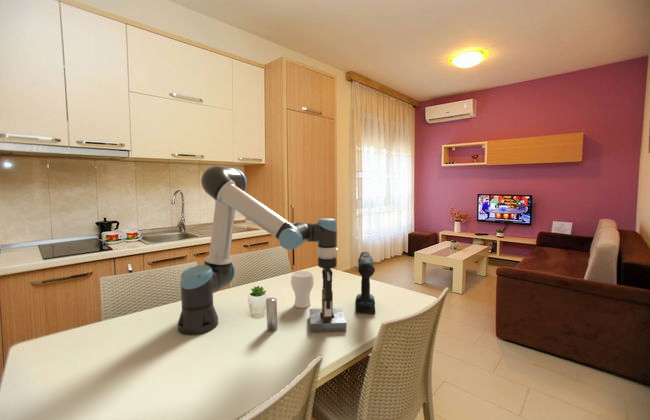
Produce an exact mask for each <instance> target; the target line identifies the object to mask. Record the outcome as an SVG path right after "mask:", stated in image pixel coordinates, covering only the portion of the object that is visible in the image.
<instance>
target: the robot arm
mask: <svg viewBox="0 0 650 420" xmlns="http://www.w3.org/2000/svg"><path fill="white" fill-rule="evenodd" d="M200 182H201V186H202V189H203V190H204V192H205V193H206V194H207V195H208V196H210V197H211V198H212V199H213V200H214V201H215V204H214V212H213V218H212V220H213V221H212V228H211V236H210V244H209V252H208V253H209V254H208V255H207V256H206V257H204V262H203V263H204V264H200V265H199V264H198V265H195V266H191V267H190V266H189V267H188V268H186V269H185V270H183V271H182V272H181V275H180V281H179V283H180V284H179V286H180V297H181V299H180V300H181V311H180V314H179V317H178V318H179V319H178V320H177V321H178V322H177V332H178V333H180V334H181V335H187V336H189V335H191V336H192V335H201V334H205V333H207V332H210V331H212V330H214V329H215V328H216V327H218V325H219V316H218V313H217V311H216V308H215V305H214V294H215V293H216V292H218V291H220V290H221V289H224V288H225V287H227V286H228V285H229V284H230V283H232V281H234V279H235V277H236V268H235V266H234V264H233V259H232V257H231V256H230V255H231V247H232V239H233V233H234V223H235V215H236V212H238V213H239V214H240V215H242V216H243V217H245V218H246V219H248V220H250V221H251V222H253V224H255V225H257V226H258V227H260V228H261V229H263V230H264V231H266V232H267V233H268V234H270V235H271V236H273V237H274V238H276V239H277V240H278V242H279V244H280V246H281V248H283V249H284V250H287V251H288V250H290V251H291V250H294V249H297V248H299V247H300V246H301V245H303V244H304V243H306V242H307V243H308V242H309V243H310V242H311V243H313V242H314V243H317V256H318V257H317V266H318V268H321V274H322V275H321V276H322V289H325V299H323V301H325V317H326V316H332V292H333V276H334V275H333V271H332V269H334V268H336V267H337V252H338V251H339V248H337V247H338V246H337V244H338V243H337V242H338V241H337V240H338V239H337V238H338V228H337V221H336V219H335V218H330V217H328V218H327V217H326V218H323V217H322V218H318V220H317V222H316V223H315V222H314V223H312V222H299V221H298V222H289V220H287V219H285V218H284V217H282V216H281V215H279V214H278V213H276V212H275V211H273V210H272V209H271V208H269V207H267V205H264V204H263V203H262V202H260V201H258V200H257V199H255V198H254V196H251V195H250V194H248V193H247V192H245V191H246V190H247V187H248V179H247V177H246V174H244V173H243V171H242V170H240V169H238V168H234V167H229V166H210V167H209V168H207V169H206V170H205V171H204V172H203V174H202V176H201V179H200Z"/></svg>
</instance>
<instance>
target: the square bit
mask: <svg viewBox="0 0 650 420" xmlns="http://www.w3.org/2000/svg"><path fill="white" fill-rule="evenodd" d="M333 295H334V294H333V291H332V316H326V317H325V301H323V299H325V289H323V288H322V289H321V309H322V319H324V318H333V308H334V307H333V306H334V305H333V298H334V297H333Z"/></svg>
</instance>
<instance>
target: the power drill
mask: <svg viewBox="0 0 650 420" xmlns="http://www.w3.org/2000/svg"><path fill="white" fill-rule="evenodd" d="M357 262H358V266H357V269H358V271H357V272H358V274H359V275H360V276H361V280H360V281H361V282H360V284H361V286H360V292H361V293H358V294H356V296H355V313H356V314H361V315H362V314H365V315H375V314H376V301H375V296H374V295H373V294H371V282H370V278H371V277H372V276H373V275H374V273H375V272H376V271H375V270H376V268H375V267H374V259H373V257H372V256H371V255H370V253H369V252H368V251H362V252H361V253H360V255H359V258H358V260H357Z"/></svg>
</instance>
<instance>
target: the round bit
mask: <svg viewBox="0 0 650 420" xmlns="http://www.w3.org/2000/svg"><path fill="white" fill-rule="evenodd" d="M277 299H278V298H276V297H269V298H268V297H267V298H266V300H265V302H266V303H265V304H266V307H265V308H266V330H267V332H271V333H272V332H275V331H277V330H278V305H277V304H278V303H277V302H278V301H277Z"/></svg>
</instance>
